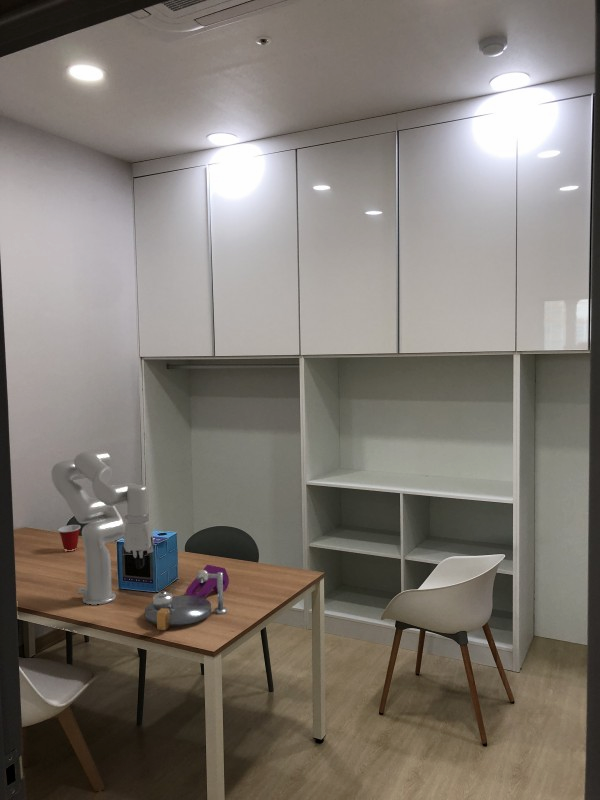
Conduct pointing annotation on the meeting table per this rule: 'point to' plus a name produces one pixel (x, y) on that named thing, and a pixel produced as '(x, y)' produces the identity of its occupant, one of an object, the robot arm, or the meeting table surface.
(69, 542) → the plastic cup
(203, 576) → the dial post
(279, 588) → the meeting table surface
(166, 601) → the cover
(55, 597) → the meeting table surface
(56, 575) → the meeting table surface
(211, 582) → the mounting bracket
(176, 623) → the turntable
